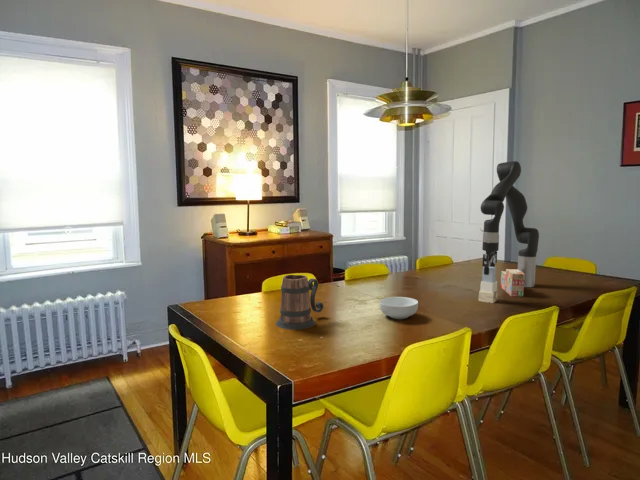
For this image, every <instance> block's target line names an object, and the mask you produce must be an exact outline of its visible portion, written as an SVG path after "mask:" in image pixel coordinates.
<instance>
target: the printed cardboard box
mask: <svg viewBox="0 0 640 480" xmlns="http://www.w3.org/2000/svg"><path fill="white" fill-rule="evenodd" d="M524 282H525V274H524V273H523V272H521V271H520V270H518V268H517V269H516V268H515V269H514V268H513V269H512V268H506V269H505V270H504V271H503V270H502V271H500V288H501V289H502V290H503V291H505V292H506V293H507V294H508V295H509V296H510V297H522V298H523V297H524V294H525V291H524V290H525V287H524Z"/></svg>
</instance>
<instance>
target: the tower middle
mask: <svg viewBox="0 0 640 480" xmlns="http://www.w3.org/2000/svg"><path fill="white" fill-rule="evenodd" d="M479 291H483V292H489V293H493V292H495V291H498V280H496V281H495V282H493V283H490V282H483V281H482V280H481V281H480V289H479Z"/></svg>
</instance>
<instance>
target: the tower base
mask: <svg viewBox="0 0 640 480" xmlns="http://www.w3.org/2000/svg"><path fill="white" fill-rule="evenodd" d="M498 292H499V291H498V290H497V291H495V292H493V293H489V292H483V291H480V290H479V291H478V302H483V303H489V302H490V304H494V303H495V302H497V301H498V296H499V295H498V294H499V293H498Z"/></svg>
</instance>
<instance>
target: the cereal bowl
mask: <svg viewBox="0 0 640 480" xmlns="http://www.w3.org/2000/svg"><path fill="white" fill-rule="evenodd" d="M379 308H380V310H381V312H382V314H384V315H385V316H388V317H389V318H391V319H395V320H404V319H407V318H409V317H411V316H413V315H415V314H416V312H417V311H418V308H419V301H418V300H417V299H415V298H412V297H406V296H387V297H384V298H381V299H380V300H379Z"/></svg>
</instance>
